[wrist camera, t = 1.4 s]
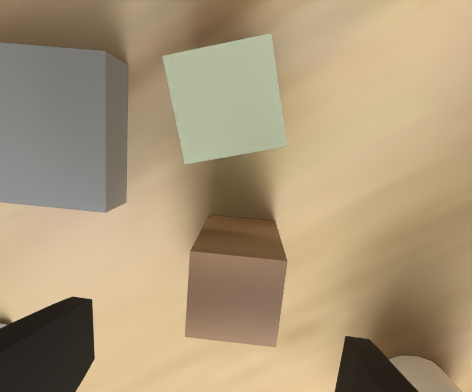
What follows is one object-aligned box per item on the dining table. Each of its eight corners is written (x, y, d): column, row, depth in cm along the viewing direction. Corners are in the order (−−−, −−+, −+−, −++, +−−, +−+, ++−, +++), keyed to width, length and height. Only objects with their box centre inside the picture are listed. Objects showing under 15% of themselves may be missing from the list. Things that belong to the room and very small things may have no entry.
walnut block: (268, 281, 18) (276, 347, 12) (206, 274, 19) (184, 336, 13) (275, 220, 18) (287, 261, 12) (210, 214, 18) (190, 251, 12)
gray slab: (129, 200, 18) (105, 212, 15) (6, 189, 18) (-40, 198, 16) (131, 66, 17) (105, 50, 14) (-3, 55, 17) (-56, 37, 14)
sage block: (274, 144, 17) (287, 146, 11) (207, 156, 17) (184, 164, 11) (263, 72, 16) (271, 33, 10) (194, 86, 16) (162, 55, 10)
